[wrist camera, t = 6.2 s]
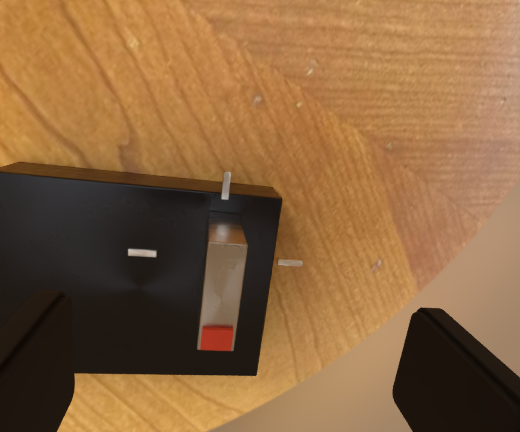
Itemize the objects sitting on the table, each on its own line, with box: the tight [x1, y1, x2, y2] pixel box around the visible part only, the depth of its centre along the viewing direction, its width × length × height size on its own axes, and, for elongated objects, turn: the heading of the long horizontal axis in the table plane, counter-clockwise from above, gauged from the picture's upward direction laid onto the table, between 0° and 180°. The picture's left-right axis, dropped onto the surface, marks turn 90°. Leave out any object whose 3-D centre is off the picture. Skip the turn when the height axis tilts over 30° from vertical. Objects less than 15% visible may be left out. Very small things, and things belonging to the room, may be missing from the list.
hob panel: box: [0, 162, 303, 376], centre depth 21 cm, size 16×12×3 cm
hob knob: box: [197, 212, 248, 351], centre depth 17 cm, size 5×2×5 cm, turn 172°
